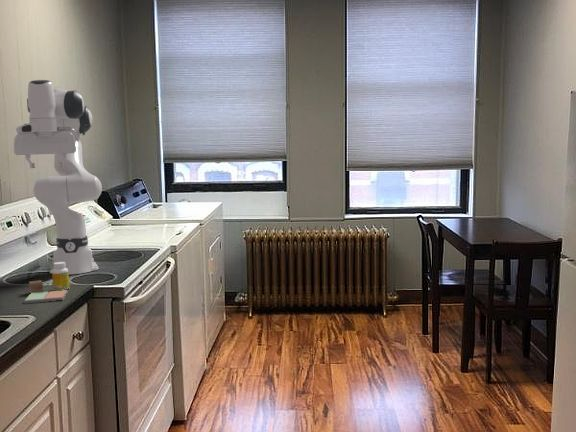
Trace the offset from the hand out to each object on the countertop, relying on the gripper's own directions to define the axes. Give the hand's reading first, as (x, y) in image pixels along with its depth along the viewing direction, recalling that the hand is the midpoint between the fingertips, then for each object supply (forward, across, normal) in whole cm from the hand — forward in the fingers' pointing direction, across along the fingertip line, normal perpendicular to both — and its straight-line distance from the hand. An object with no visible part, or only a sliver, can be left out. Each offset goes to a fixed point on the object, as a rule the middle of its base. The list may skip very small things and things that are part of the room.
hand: (46, 167), depth 217 cm
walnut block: (+43, +7, +2) cm, 44 cm away
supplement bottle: (+43, -1, +2) cm, 43 cm away
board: (+43, +5, +12) cm, 45 cm away
